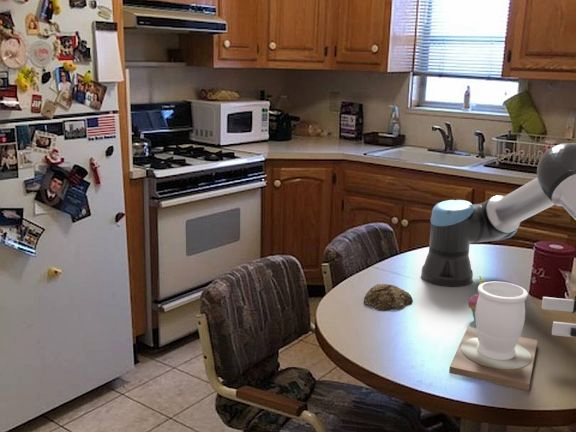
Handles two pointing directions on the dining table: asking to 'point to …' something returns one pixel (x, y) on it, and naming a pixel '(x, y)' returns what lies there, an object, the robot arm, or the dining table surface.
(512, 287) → the jar
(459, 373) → the board
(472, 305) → the cupcake
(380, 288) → the bread roll
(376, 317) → the dining table surface
